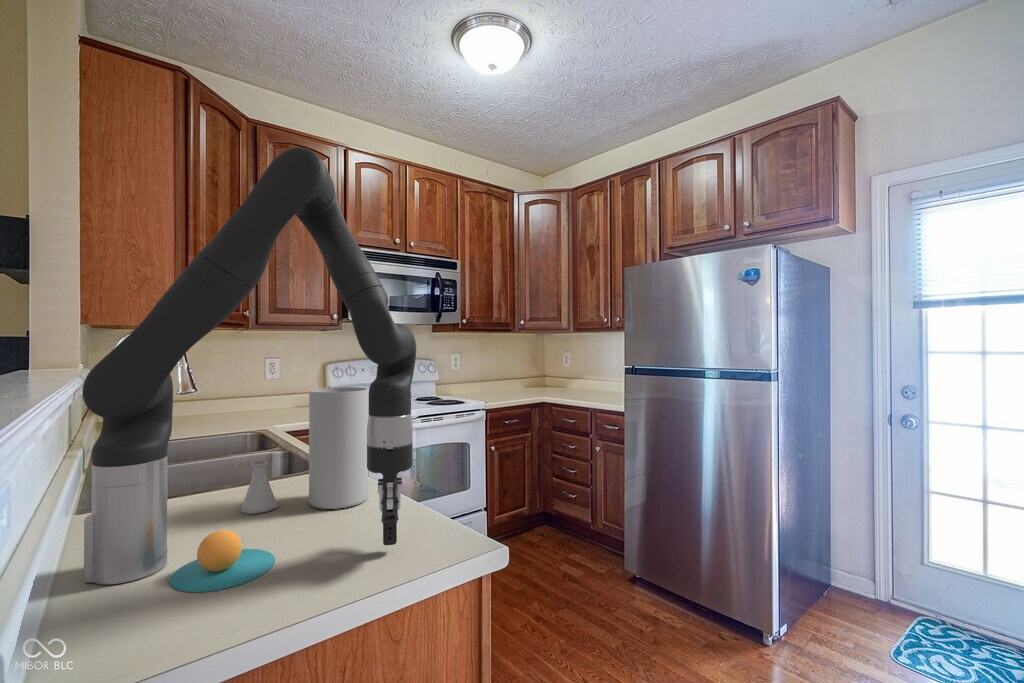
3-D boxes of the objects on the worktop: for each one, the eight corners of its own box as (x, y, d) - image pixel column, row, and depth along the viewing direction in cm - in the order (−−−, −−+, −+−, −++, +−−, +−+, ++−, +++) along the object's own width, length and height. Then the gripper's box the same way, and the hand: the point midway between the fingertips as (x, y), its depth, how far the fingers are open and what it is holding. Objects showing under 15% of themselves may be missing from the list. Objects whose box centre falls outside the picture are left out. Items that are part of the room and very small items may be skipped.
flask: (269, 501, 108) (269, 456, 108) (284, 508, 103) (284, 461, 103) (234, 509, 102) (234, 462, 102) (248, 517, 98) (249, 468, 98)
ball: (239, 539, 73) (231, 579, 73) (249, 525, 79) (242, 562, 78) (194, 537, 71) (186, 578, 71) (209, 523, 77) (201, 560, 77)
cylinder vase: (306, 513, 100) (306, 393, 100) (311, 495, 111) (311, 388, 112) (369, 507, 104) (369, 391, 104) (367, 490, 115) (367, 386, 116)
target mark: (151, 598, 67) (151, 596, 67) (191, 555, 80) (191, 553, 80) (262, 585, 70) (262, 584, 70) (283, 546, 84) (283, 545, 84)
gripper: (368, 434, 87) (368, 530, 87) (364, 450, 74) (364, 563, 74) (410, 432, 89) (410, 526, 89) (414, 447, 76) (414, 557, 76)
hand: (389, 543), depth 81 cm, fingers closed
